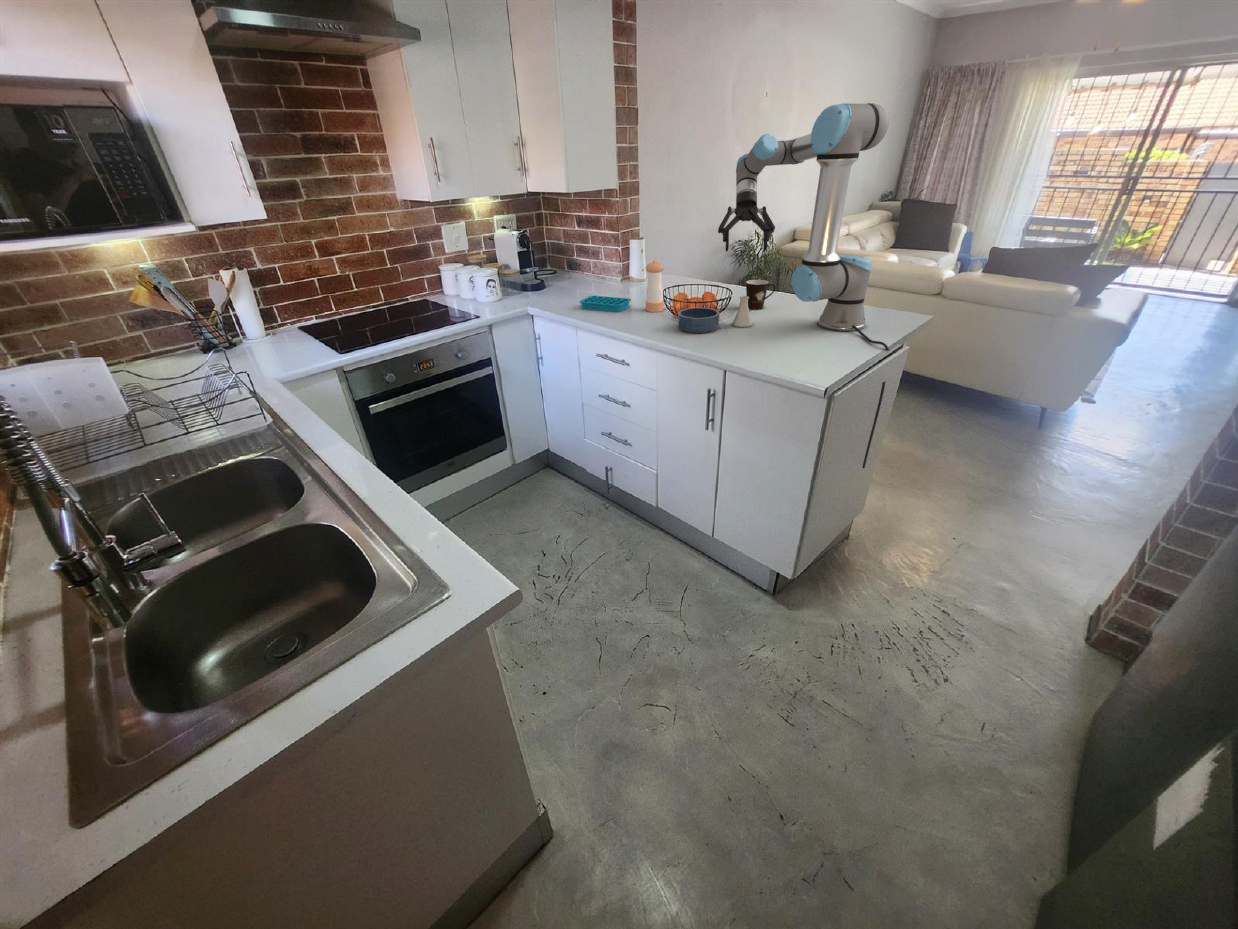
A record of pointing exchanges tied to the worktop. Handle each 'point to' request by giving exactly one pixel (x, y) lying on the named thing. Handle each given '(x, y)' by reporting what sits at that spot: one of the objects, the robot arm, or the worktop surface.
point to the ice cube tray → (605, 303)
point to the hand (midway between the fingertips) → (746, 249)
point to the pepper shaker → (654, 287)
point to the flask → (743, 314)
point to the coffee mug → (757, 293)
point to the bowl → (698, 320)
